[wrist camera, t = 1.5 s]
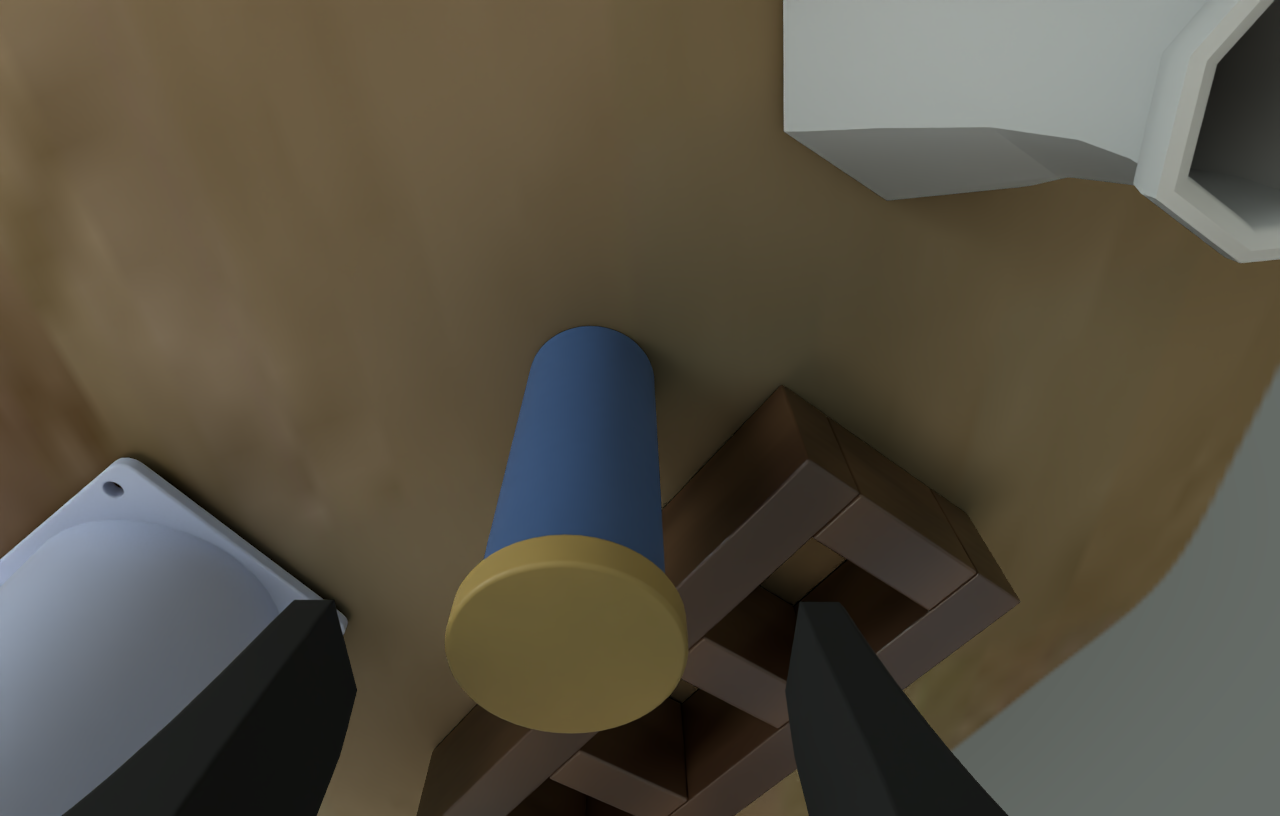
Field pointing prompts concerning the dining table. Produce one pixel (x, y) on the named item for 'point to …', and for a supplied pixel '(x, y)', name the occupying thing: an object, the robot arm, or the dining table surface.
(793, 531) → the holder
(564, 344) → the capped tube
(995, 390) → the dining table surface
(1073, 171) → the flask
